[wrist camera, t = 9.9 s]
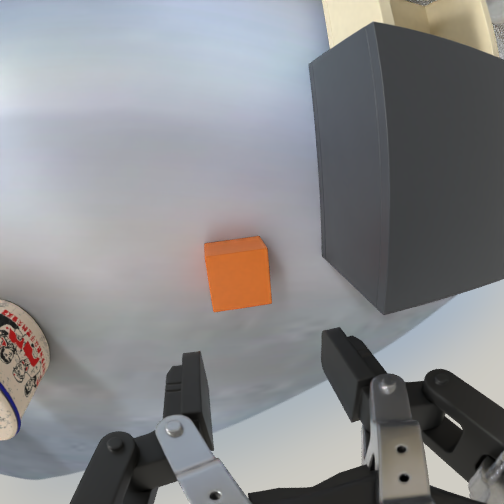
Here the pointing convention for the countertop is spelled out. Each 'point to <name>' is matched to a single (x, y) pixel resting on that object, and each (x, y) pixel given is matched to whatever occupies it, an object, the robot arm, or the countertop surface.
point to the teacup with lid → (19, 365)
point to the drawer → (415, 19)
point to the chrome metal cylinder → (496, 11)
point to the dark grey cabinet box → (410, 164)
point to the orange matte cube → (238, 273)
